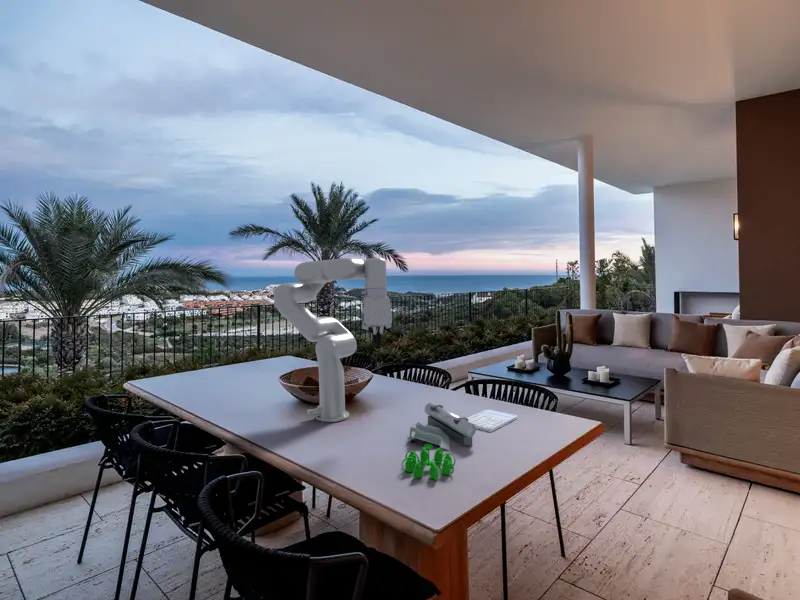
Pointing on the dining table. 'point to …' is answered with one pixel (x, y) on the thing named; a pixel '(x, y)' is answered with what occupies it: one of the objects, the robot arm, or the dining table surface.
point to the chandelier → (428, 462)
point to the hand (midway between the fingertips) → (377, 345)
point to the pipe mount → (450, 424)
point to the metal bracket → (430, 435)
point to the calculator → (491, 419)
